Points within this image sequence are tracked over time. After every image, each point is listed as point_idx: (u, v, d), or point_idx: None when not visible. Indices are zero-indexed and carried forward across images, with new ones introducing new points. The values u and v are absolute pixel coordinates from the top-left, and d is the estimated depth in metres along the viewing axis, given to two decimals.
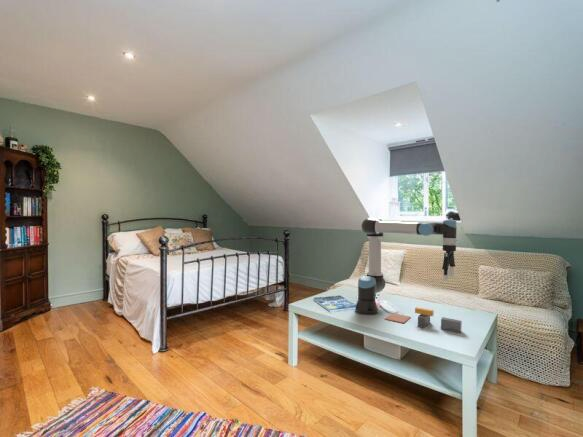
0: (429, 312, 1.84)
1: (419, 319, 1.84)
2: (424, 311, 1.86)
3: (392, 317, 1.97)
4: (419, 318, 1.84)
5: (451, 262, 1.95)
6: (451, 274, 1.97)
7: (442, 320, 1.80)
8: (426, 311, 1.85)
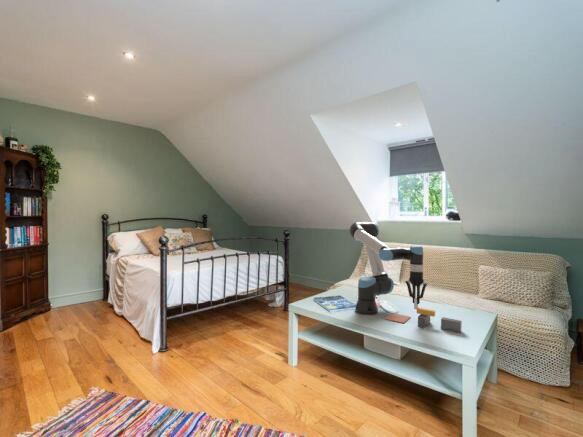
0: (431, 312, 1.84)
1: (419, 319, 1.84)
2: (426, 311, 1.86)
3: (392, 317, 1.97)
4: (419, 318, 1.84)
5: None
6: None
7: (442, 320, 1.80)
8: (428, 311, 1.85)
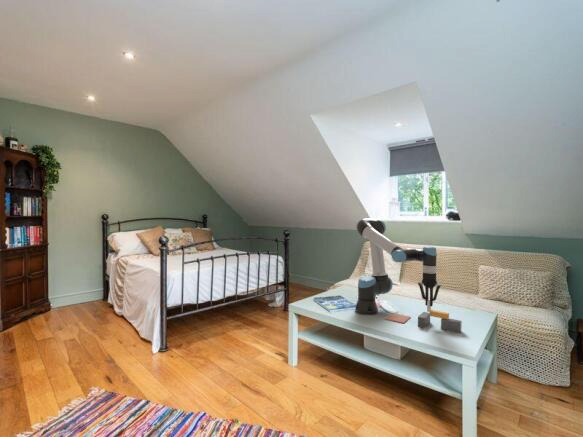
0: (445, 315, 1.79)
1: (419, 319, 1.84)
2: (439, 314, 1.81)
3: (392, 317, 1.97)
4: (419, 318, 1.84)
5: None
6: None
7: (442, 320, 1.80)
8: (441, 314, 1.80)
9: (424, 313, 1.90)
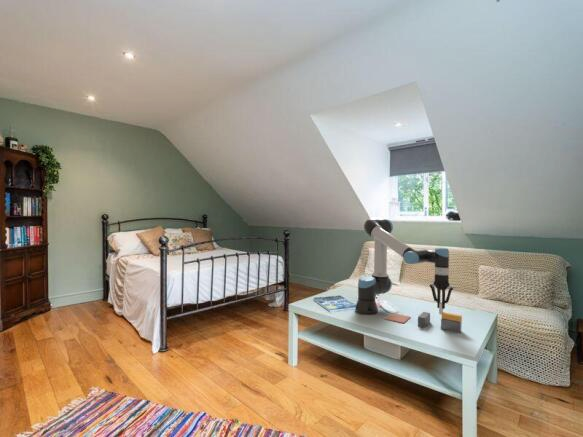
0: (457, 317, 1.75)
1: (419, 319, 1.84)
2: (452, 316, 1.77)
3: (392, 317, 1.97)
4: (419, 318, 1.84)
5: None
6: None
7: (442, 320, 1.80)
8: (454, 316, 1.76)
9: (424, 313, 1.90)
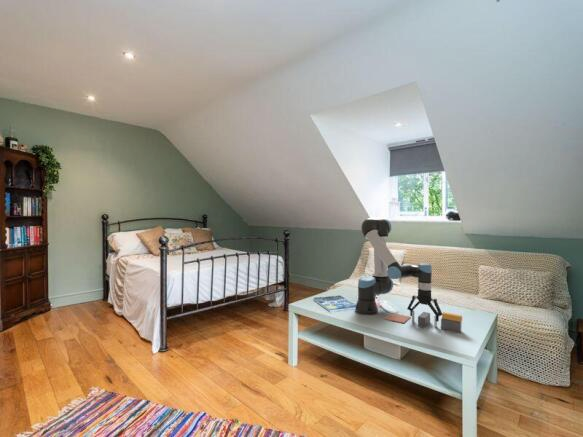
0: (458, 318, 1.75)
1: (419, 319, 1.84)
2: (452, 316, 1.77)
3: (392, 317, 1.97)
4: (419, 318, 1.84)
5: None
6: None
7: (442, 320, 1.80)
8: (454, 316, 1.76)
9: (424, 313, 1.90)
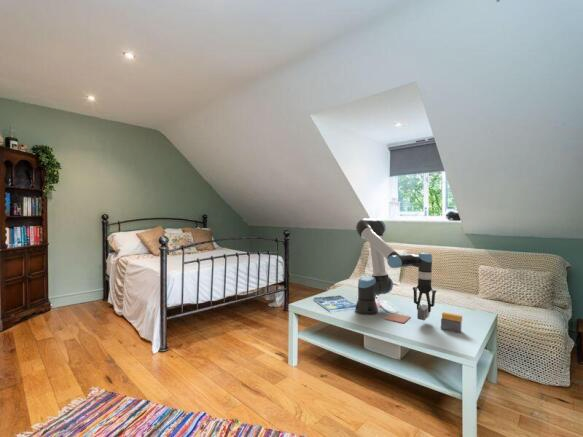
0: (458, 318, 1.75)
1: (419, 312, 1.84)
2: (452, 316, 1.77)
3: (392, 317, 1.97)
4: (419, 310, 1.84)
5: None
6: None
7: (442, 320, 1.80)
8: (454, 316, 1.76)
9: (424, 306, 1.90)
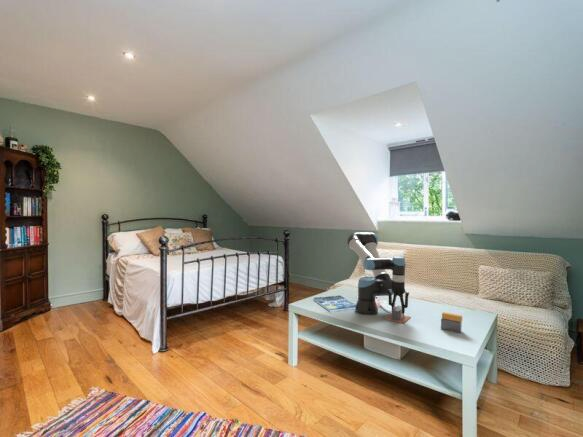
0: (458, 318, 1.75)
1: (393, 313, 1.93)
2: (452, 316, 1.77)
3: None
4: (393, 311, 1.93)
5: None
6: None
7: (442, 320, 1.80)
8: (454, 316, 1.76)
9: (398, 307, 2.00)
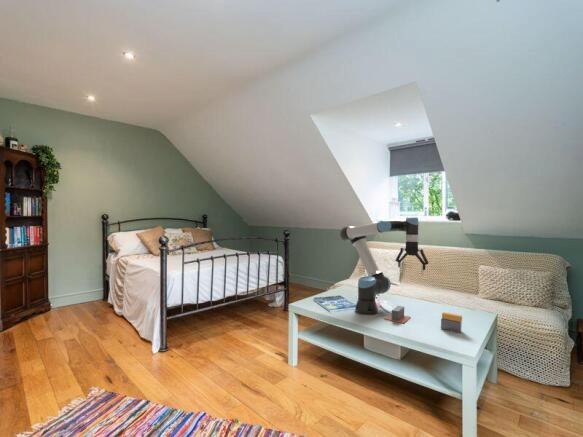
0: (458, 318, 1.75)
1: (393, 313, 1.93)
2: (452, 316, 1.77)
3: None
4: (393, 311, 1.93)
5: None
6: None
7: (442, 320, 1.80)
8: (454, 316, 1.76)
9: (398, 307, 2.00)
